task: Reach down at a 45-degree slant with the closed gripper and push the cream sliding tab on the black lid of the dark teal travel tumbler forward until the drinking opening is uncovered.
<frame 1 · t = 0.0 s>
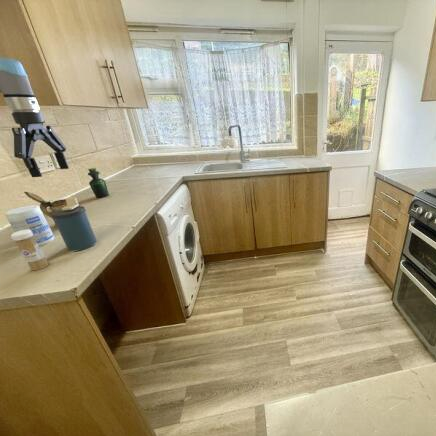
hand: (52, 172, 92), 28 cm above the countertop, tool pointing down, fingers open, 13 cm apart
potion bottle: (103, 197, 153), on the countertop
tumbler: (83, 246, 96), on the countertop
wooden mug: (62, 224, 115), on the countertop
sprinkles bottle: (40, 267, 83), on the countertop
supplement tub: (40, 243, 99), on the countertop
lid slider: (69, 203, 90), point 17 cm above the countertop, slide at 0.0 cm
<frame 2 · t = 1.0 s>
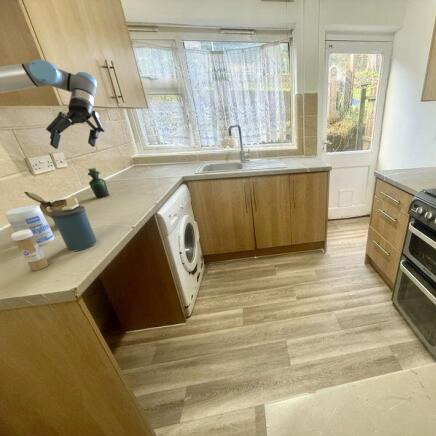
hand: (72, 145, 96), 36 cm above the countertop, tool tilted 45°, fingers open, 13 cm apart
nothing on the countertop moved.
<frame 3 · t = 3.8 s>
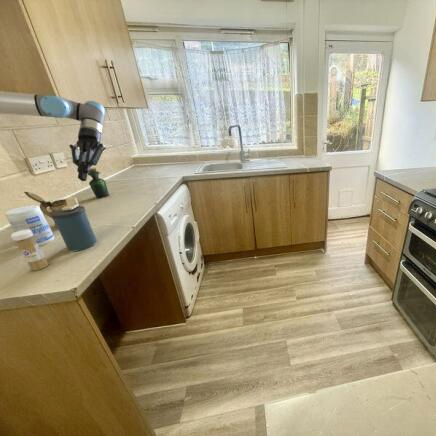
hand: (82, 179, 99), 23 cm above the countertop, tool tilted 45°, fingers closed
nothing on the countertop moved.
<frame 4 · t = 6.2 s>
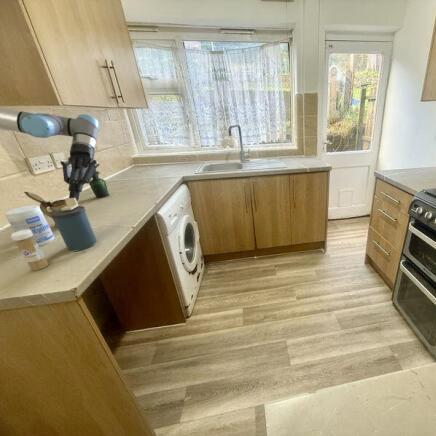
hand: (73, 199, 93), 18 cm above the countertop, tool tilted 45°, fingers closed
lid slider: (68, 204, 90), point 17 cm above the countertop, slide at 0.3 cm, touching gripper
everything else where it was.
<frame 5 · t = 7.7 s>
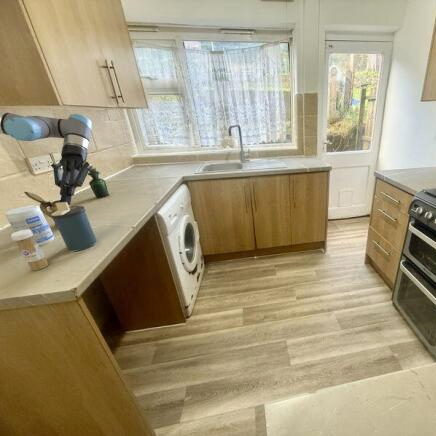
hand: (65, 203, 88), 18 cm above the countertop, tool tilted 45°, fingers closed
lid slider: (59, 208, 86), point 17 cm above the countertop, slide at 5.2 cm, touching gripper
everything else where it was.
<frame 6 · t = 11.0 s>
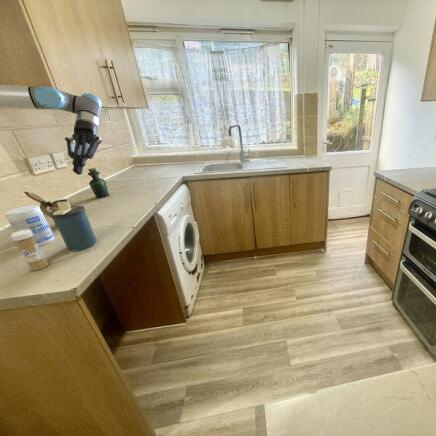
hand: (77, 172, 97), 26 cm above the countertop, tool tilted 45°, fingers closed
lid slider: (60, 208, 86), point 17 cm above the countertop, slide at 4.6 cm
everything else where it was.
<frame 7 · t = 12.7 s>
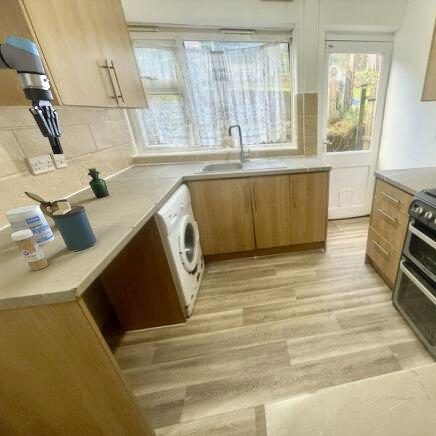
hand: (58, 154, 98), 33 cm above the countertop, tool pointing down, fingers closed
nothing on the countertop moved.
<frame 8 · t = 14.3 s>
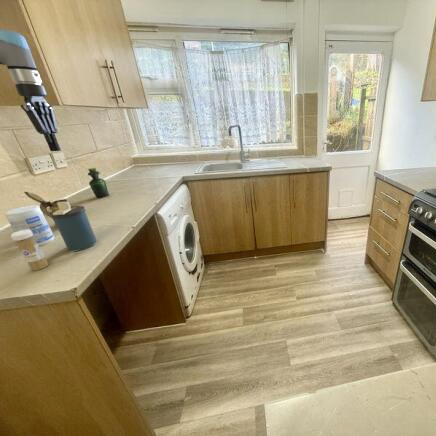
hand: (55, 150, 98), 34 cm above the countertop, tool pointing down, fingers closed
nothing on the countertop moved.
at the end: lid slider slide at 4.6 cm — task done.
